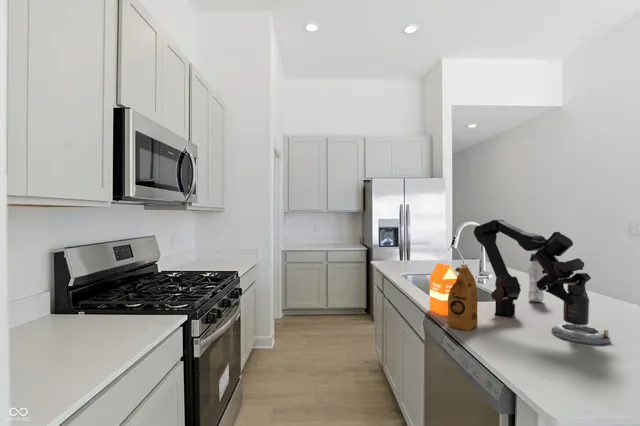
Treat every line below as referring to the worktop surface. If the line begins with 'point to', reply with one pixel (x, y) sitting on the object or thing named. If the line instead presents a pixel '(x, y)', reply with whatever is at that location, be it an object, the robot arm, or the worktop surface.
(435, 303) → the orange juice
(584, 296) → the supplement bottle
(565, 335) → the seat plate
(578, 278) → the robot arm
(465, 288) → the coffee package
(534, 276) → the plastic bottle
